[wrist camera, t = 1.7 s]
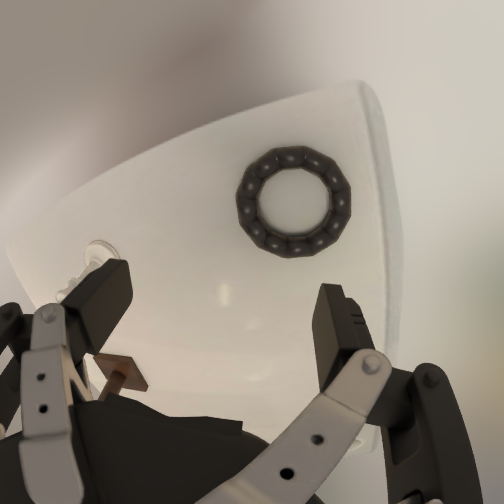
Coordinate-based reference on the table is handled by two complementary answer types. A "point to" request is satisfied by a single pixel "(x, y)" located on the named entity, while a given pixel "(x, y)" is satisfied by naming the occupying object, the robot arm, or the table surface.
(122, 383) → the peg stand
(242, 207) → the ring
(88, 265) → the chess piece
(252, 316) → the table surface
